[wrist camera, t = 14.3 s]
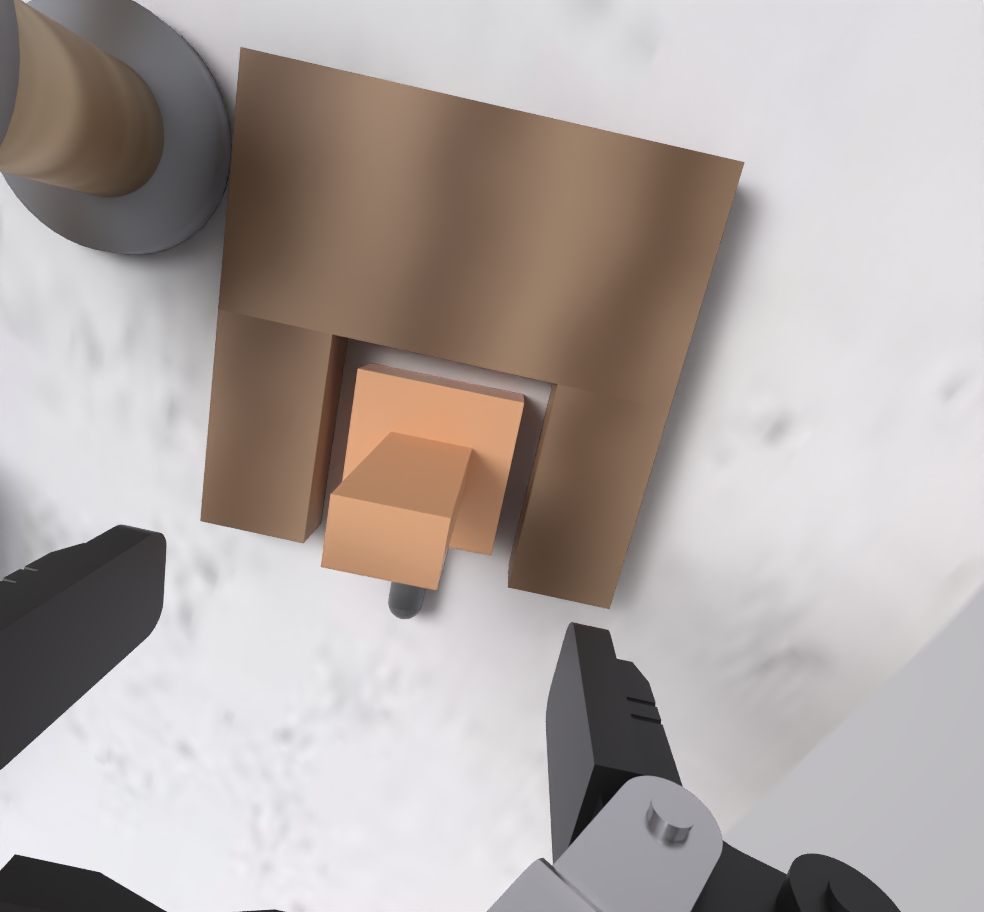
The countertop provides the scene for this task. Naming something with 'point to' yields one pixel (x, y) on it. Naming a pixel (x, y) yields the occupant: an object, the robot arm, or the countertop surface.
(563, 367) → the brown flat u-shaped block
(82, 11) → the bobbin
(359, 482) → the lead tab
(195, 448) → the countertop surface
